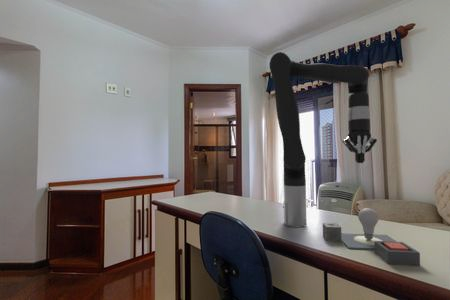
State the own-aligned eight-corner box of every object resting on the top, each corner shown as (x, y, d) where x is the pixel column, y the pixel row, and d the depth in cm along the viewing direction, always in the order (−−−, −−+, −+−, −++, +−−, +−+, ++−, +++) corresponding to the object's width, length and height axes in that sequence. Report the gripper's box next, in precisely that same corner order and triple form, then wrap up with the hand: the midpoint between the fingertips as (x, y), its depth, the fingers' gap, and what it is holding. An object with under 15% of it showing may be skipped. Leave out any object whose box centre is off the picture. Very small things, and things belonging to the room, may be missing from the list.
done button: (391, 256, 68) (391, 247, 68) (383, 250, 72) (383, 242, 73) (408, 257, 67) (408, 248, 68) (399, 250, 72) (399, 242, 72)
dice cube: (337, 236, 89) (336, 223, 89) (341, 241, 84) (341, 227, 84) (322, 236, 90) (322, 222, 90) (326, 241, 85) (326, 226, 85)
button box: (388, 264, 67) (387, 251, 67) (374, 252, 75) (374, 241, 75) (420, 265, 65) (419, 252, 65) (402, 253, 73) (402, 242, 73)
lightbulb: (379, 244, 79) (378, 211, 79) (358, 241, 82) (357, 209, 83) (378, 238, 84) (378, 207, 85) (359, 235, 88) (358, 205, 88)
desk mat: (348, 248, 78) (348, 246, 78) (335, 234, 91) (335, 232, 91) (409, 251, 75) (409, 249, 75) (386, 236, 89) (386, 234, 89)
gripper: (369, 120, 98) (370, 162, 98) (337, 120, 98) (338, 162, 98) (381, 117, 91) (383, 163, 90) (347, 117, 91) (348, 163, 90)
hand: (359, 163), depth 94 cm, fingers closed
